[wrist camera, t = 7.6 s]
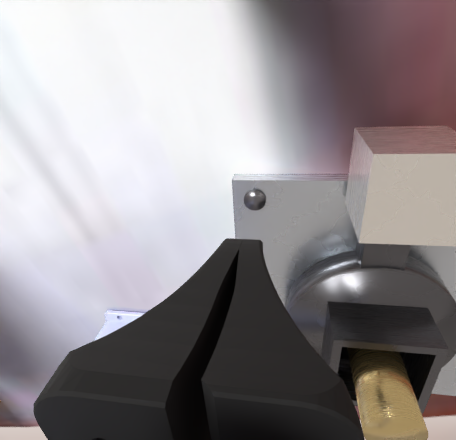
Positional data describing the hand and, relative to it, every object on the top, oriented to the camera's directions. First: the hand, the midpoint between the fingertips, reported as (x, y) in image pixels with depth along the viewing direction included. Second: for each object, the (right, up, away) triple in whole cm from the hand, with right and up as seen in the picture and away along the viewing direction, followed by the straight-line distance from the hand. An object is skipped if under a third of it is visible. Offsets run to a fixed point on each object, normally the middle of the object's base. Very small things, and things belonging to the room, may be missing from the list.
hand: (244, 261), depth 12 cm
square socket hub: (+9, -2, +9) cm, 13 cm away
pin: (+9, -6, +9) cm, 14 cm away
